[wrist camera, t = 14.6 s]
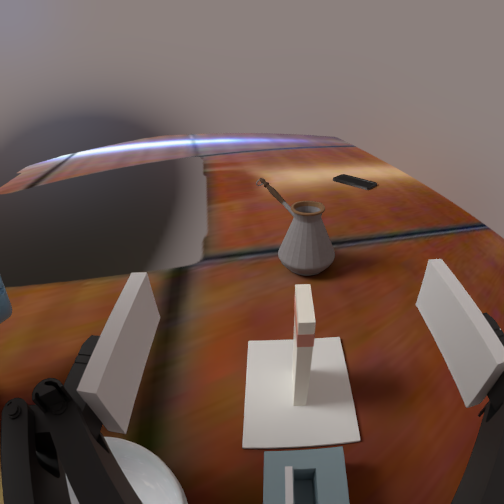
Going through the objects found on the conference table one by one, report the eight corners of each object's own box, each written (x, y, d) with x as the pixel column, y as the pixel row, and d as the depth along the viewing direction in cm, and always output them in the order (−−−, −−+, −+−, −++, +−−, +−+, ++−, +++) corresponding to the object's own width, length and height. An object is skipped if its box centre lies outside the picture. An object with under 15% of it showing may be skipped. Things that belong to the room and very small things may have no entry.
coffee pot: (345, 267, 64) (351, 198, 56) (303, 289, 58) (306, 214, 51) (281, 230, 79) (279, 171, 71) (242, 244, 74) (236, 182, 66)
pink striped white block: (306, 405, 37) (316, 322, 29) (292, 405, 37) (297, 323, 29) (304, 369, 42) (310, 284, 34) (291, 370, 42) (294, 284, 34)
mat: (359, 441, 31) (360, 440, 31) (242, 448, 32) (242, 447, 32) (339, 338, 47) (339, 336, 47) (248, 342, 48) (248, 340, 47)
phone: (342, 173, 115) (377, 182, 105) (342, 176, 115) (377, 185, 106) (331, 178, 110) (368, 188, 101) (331, 181, 111) (368, 191, 101)
